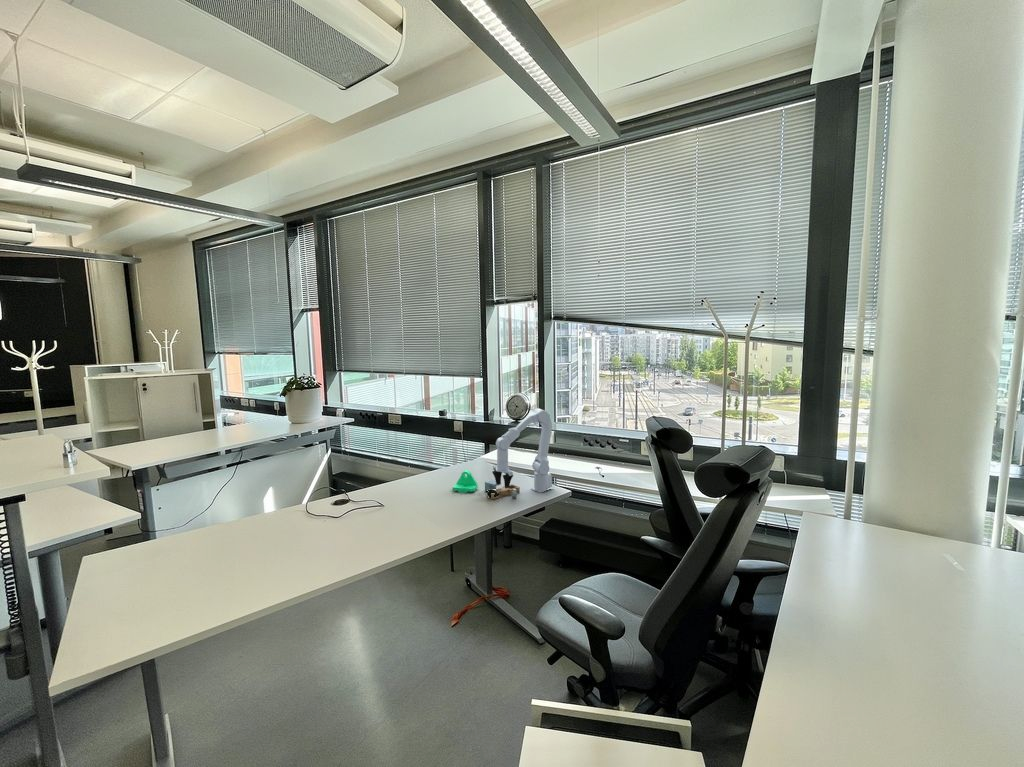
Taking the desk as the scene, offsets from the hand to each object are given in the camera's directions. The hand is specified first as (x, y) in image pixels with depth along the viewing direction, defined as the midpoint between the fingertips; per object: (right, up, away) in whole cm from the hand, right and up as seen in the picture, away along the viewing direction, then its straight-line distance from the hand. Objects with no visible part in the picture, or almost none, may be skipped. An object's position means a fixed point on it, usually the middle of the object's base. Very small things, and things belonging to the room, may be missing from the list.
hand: (502, 485), depth 234 cm
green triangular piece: (-21, -5, +8) cm, 23 cm away
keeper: (-5, -4, +5) cm, 9 cm away
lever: (0, -5, 0) cm, 5 cm away
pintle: (+6, -5, -4) cm, 9 cm away
